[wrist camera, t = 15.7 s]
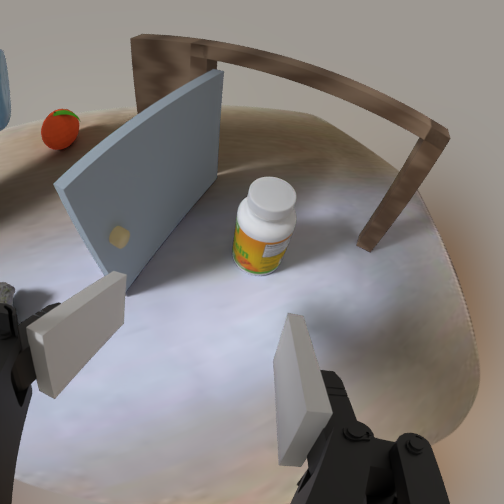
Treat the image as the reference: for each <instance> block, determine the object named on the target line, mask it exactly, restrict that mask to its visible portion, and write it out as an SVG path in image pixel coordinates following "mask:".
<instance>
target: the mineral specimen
mask: <svg viewBox="0 0 504 504" xmlns="http://www.w3.org/2000/svg"><path fill="white" fill-rule="evenodd" d="M14 293H15V288H14V287H13V286H11V285H10V284H7V283H6V282H0V303H6V304H9V305H12V303H13V295H14ZM12 306H13V305H12ZM13 307H14V306H13Z"/></svg>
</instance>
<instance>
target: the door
mask: <svg viewBox="0 0 504 504" xmlns="http://www.w3.org/2000/svg"><path fill="white" fill-rule="evenodd" d="M223 77H224V71H221V70H216V69H212V70H211V71H209V72H207V73H205V74H203V75H201V76H199V77H197V78H196V79H194V80H192V81H190V82H188V83H187V84H185V85H183V86H182V87H180V88H178V89H176V90H175V91H173V92H172V93H170V94H168V95H167V96H165V97H163V98H162V99H160V100H159V101H157V102H156V103H154V104H152V105H151V106H149V107H148V108H146V109H145V110H143V111H142V112H141V113H139V114H138V115H136V116H135V117H133V118H132V119H131V120H129V121H128V122H126V123H125V124H124V125H122V126H121V127H120V128H118V129H117V130H116V131H114V132H113V133H112V134H110V135H109V136H108V137H106V138H105V139H104V140H103V141H101V142H100V143H99V144H98V145H96V146H95V147H94V148H93V149H92V150H90V151H89V152H88V153H87V154H86V155H84V156H83V157H82V158H81V159H80V160H79V161H77V162H76V163H75V164H74V165H73V166H72V167H71V168H70V169H69V170H67V171H66V172H65V173H64V174H63V175H62V176H61V177H60V178H59V179H58V180H57V181H56V182H55V183H54V187H55V189H56V191H57V193H58V195H59V197H60V199H61V201H62V203H63V205H64V207H65V209H66V210H67V212H68V214H69V216H70V218H71V220H72V222H73V224H74V225H75V227H76V229H77V231H78V233H79V234H80V236H81V238H82V240H83V241H84V243H85V245H86V246H87V248H88V250H89V251H90V253H91V255H92V256H93V258H94V260H95V261H96V263H97V264H98V266H99V268H100V269H101V271H102V272H103V274H104V275H105V276H106V275H108V274H109V273H111V272H112V271H116V272H119V273H123V274H126V275H127V278H126V291H127V290H128V288H129V287H130V286H131V284H132V283H133V282H134V280H135V279H136V277H137V276H138V275H139V273H140V272H141V271H142V269H143V268H144V267H145V266H146V264H147V263H148V262H149V260H150V259H151V258H152V256H153V255H154V254H155V252H156V251H157V250H158V249H159V247H160V246H161V245H162V244H163V242H164V241H165V240H166V238H167V237H168V236H169V235H170V233H171V232H172V231H173V230H174V228H175V227H176V226H177V225H178V224H179V222H180V221H181V220H182V219H183V217H184V216H185V215H186V214H187V213H188V211H189V210H190V209H191V208H192V207H193V205H194V204H195V203H196V202H197V201H198V200H199V198H200V197H201V196H202V195H203V194H204V193H205V191H206V190H207V189H208V188H209V187H210V186H211V184H212V183H213V182H214V181H215V180H216V179H217V168H218V149H219V132H220V117H221V103H222V89H223ZM126 291H125V293H126Z"/></svg>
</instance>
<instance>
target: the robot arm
mask: <svg viewBox="0 0 504 504" xmlns="http://www.w3.org/2000/svg"><path fill="white" fill-rule="evenodd" d="M10 116H11V101H10V90H9V80H8V72H7V65H6V59H5V55H4V52H3V51H2V50H1V49H0V131H1V130H3V129H4V128H5V127H6V126H7V124H8V122H9V120H10ZM126 278H127V275H126V274H123V273H119V272H116V271H112V272H111V273H109V274H108V275H106V276H104V277H103V278H101V279H99V280H98V281H96V282H95V283H93V284H91V285H90V286H88V287H87V288H85V289H83V290H82V291H80V292H79V293H77V294H75V295H74V296H72V297H71V298H69V299H68V300H66V301H65V302H63V303H62V304H61V303H55V304H52V305H48V306H47V307H45V308H44V309H42V310H41V312H40V311H39V312H37V313H36V314H35V315H33V316H31V317H30V318H28V319H27V320H25V321H24V322H22V323H20V324H19V325H18V321H17V314H16V310H15V308H14V307H13V306H12V305H9V304H6V303H0V504H11V503H12V491H13V482H14V474H15V467H16V461H17V455H18V450H19V445H20V440H21V435H22V431H23V426H24V422H25V418H26V414H27V411H28V407H29V403H30V400H31V396H32V387H31V383H32V382H33V381H34V380H35V379H36V380H37V384H38V387H39V391H41V392H43V393H45V394H46V395H48V396H50V397H52V398H54V399H55V398H56V397H57V396H58V395H59V394H60V393H61V392H62V390H63V389H64V388H65V387H66V386H67V385H68V384H69V382H70V381H71V380H72V379H73V378H74V377H75V376H76V375H77V374H78V372H79V371H80V370H81V369H82V368H83V367H84V366H85V365H86V364H87V362H88V361H89V360H90V359H91V358H92V357H93V356H94V355H95V354H96V353H97V352H98V350H99V349H100V348H101V347H102V346H103V345H104V344H105V343H106V342H107V341H108V340H109V339H110V338H111V337H112V335H113V334H114V333H115V332H116V331H117V330H118V329H119V328H120V327H121V326H122V325H123V324H124V308H125V291H126ZM273 367H274V383H275V401H276V419H277V439H278V459H279V465H283V466H298V467H301V466H302V465H303V463H304V461H305V460H306V458H307V460H308V467H309V468H308V469H307V471H306V472H305V474H304V475H303V476H302V478H301V479H300V481H299V482H298V483H297V485H298V489H297V491H296V493H295V495H294V497H293V499H292V501H291V503H290V504H450V502H449V499H448V496H447V492H446V489H445V486H444V482H443V480H442V476H441V473H440V470H439V468H438V465H437V462H436V459H435V456H434V453H433V451H432V448H431V445H430V444H429V442H428V441H427V440H426V439H425V438H424V437H422V436H420V435H418V434H414V433H404V434H403V435H401V436H399V438H398V439H397V441H396V442H391V441H386V440H382V439H378V438H375V437H374V434H373V432H372V431H371V429H370V428H369V427H368V426H366V425H365V424H363V423H361V422H359V421H357V419H356V417H355V414H354V411H353V409H352V406H351V403H350V401H349V398H348V397H347V396H348V395H347V393H346V390H345V387H344V385H343V382H342V380H341V379H340V378H339V376H338V375H337V374H336V373H335V372H333V371H325V370H320V368H319V365H318V361H317V358H316V355H315V352H314V348H313V345H312V342H311V339H310V335H309V332H308V329H307V326H306V323H305V320H304V316H301V315H296V314H291V313H288V314H287V317H286V320H285V324H284V327H283V330H282V334H281V337H280V340H279V343H278V347H277V350H276V353H275V356H274V359H273Z"/></svg>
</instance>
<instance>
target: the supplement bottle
mask: <svg viewBox="0 0 504 504" xmlns="http://www.w3.org/2000/svg"><path fill="white" fill-rule="evenodd" d="M295 203H296V192H295V190H294V188H293V187H292V186H291V185H290V184H289V183H288V182H286V181H284V180H282V179H280V178H277V177H262V178H259V179H257V180H255V181H254V182H253V183H252V184H251V185H250V188H249V192H248V196H247V197H246V198H245V199H243V201H242V202H241V203H240V205H239V208H238V211H237V218H236V226H235V234H234V241H233V249H232V255H233V259H234V261H235V263H236V265H237V266H238V267H239V268H240V269H241V270H242V271H244V272H246V273H248V274H251V275H255V276H262V275H267V274H269V273H271V272H273V271H274V270H276V269H277V267H278V266H279V264H280V263H281V261H282V258H283V256H284V253H285V251H286V248H287V246H288V244H289V241H290V238H291V236H292V234H293V231H294V229H295V225H296V212H295V210H294V206H295Z"/></svg>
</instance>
